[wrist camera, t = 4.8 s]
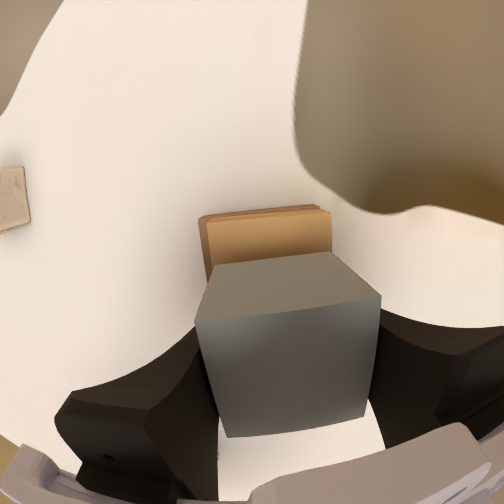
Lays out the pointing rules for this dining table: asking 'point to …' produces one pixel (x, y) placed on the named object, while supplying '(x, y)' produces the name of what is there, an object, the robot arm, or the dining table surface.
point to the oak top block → (268, 235)
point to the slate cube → (288, 343)
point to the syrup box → (13, 199)
